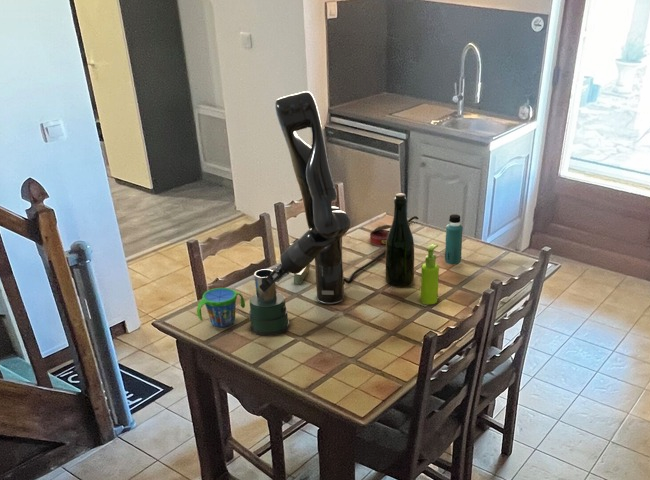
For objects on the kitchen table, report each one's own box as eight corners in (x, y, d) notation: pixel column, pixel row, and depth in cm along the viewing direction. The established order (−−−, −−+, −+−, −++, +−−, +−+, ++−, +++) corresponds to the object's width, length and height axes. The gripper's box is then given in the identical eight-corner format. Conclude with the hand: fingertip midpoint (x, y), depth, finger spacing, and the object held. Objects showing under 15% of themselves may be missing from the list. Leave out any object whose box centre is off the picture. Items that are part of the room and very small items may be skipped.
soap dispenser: (441, 297, 241) (443, 244, 231) (433, 306, 236) (435, 252, 225) (425, 294, 243) (427, 241, 233) (417, 302, 238) (419, 248, 227)
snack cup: (240, 310, 230) (236, 282, 225) (252, 323, 223) (249, 295, 218) (194, 321, 223) (189, 293, 218) (205, 336, 216) (200, 307, 210)
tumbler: (263, 293, 220) (261, 267, 215) (280, 296, 218) (277, 271, 213) (253, 301, 215) (250, 275, 210) (270, 304, 213) (267, 279, 208)
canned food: (373, 255, 282) (361, 235, 277) (378, 243, 289) (367, 223, 284) (397, 246, 277) (385, 225, 272) (401, 234, 285) (390, 213, 280)
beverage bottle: (464, 263, 266) (467, 214, 255) (455, 269, 261) (458, 219, 250) (449, 259, 269) (452, 210, 258) (440, 265, 264) (443, 216, 253)
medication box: (300, 285, 247) (301, 275, 245) (293, 283, 247) (293, 273, 245) (309, 270, 257) (310, 260, 255) (302, 268, 257) (303, 259, 255)
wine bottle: (397, 291, 245) (398, 201, 227) (379, 280, 251) (378, 193, 234) (419, 282, 251) (422, 195, 233) (401, 273, 257) (402, 187, 240)
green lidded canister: (263, 314, 228) (260, 287, 223) (296, 321, 225) (294, 294, 219) (242, 331, 219) (239, 303, 213) (276, 339, 215) (273, 311, 210)
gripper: (302, 237, 208) (272, 265, 218) (278, 254, 197) (248, 283, 206) (319, 256, 210) (288, 283, 219) (295, 274, 198) (265, 302, 208)
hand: (269, 283), depth 213 cm, fingers open, 8 cm apart
